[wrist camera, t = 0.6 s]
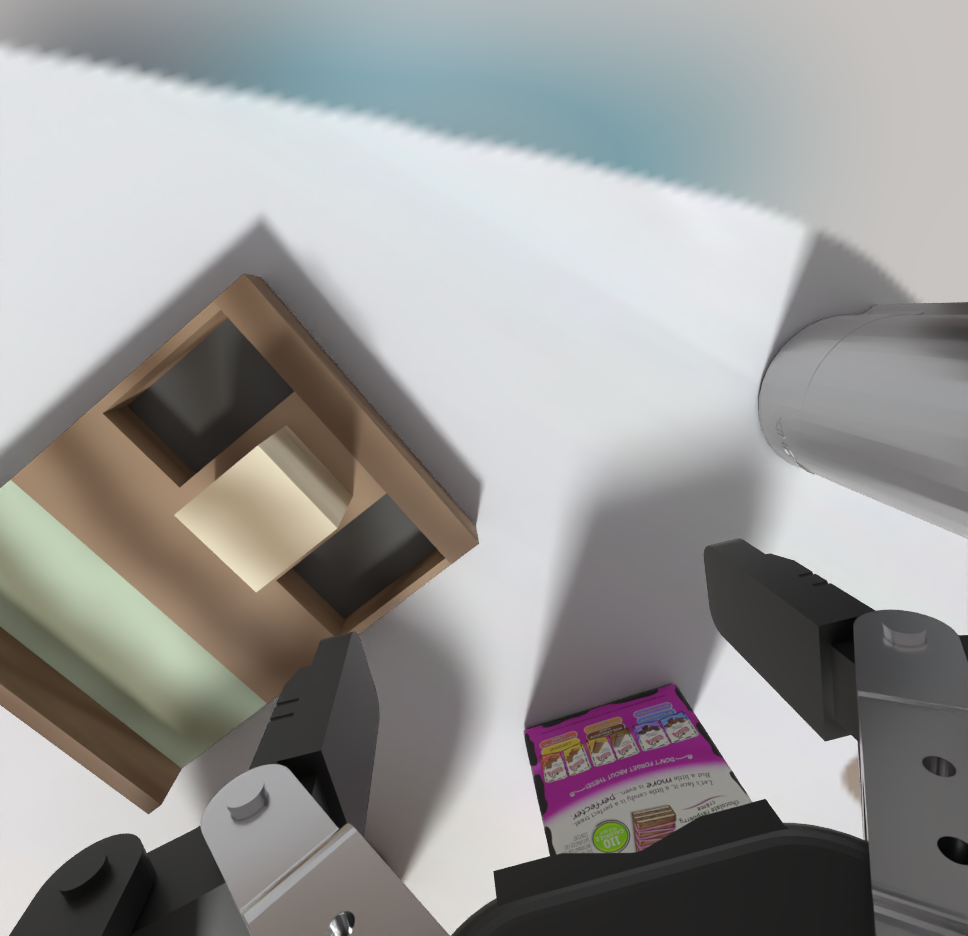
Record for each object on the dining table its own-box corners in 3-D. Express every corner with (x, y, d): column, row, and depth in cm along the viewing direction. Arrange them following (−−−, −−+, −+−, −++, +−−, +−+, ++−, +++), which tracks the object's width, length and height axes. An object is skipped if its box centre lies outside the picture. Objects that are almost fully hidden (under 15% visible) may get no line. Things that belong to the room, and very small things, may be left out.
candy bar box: (539, 782, 38) (609, 1109, 22) (521, 727, 37) (581, 1036, 21) (689, 736, 38) (865, 1032, 22) (677, 679, 37) (855, 953, 21)
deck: (260, 277, 28) (223, 269, 23) (475, 526, 32) (482, 563, 28) (-54, 552, 30) (-146, 596, 25) (188, 746, 35) (148, 814, 30)
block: (286, 424, 27) (257, 445, 23) (353, 496, 29) (337, 528, 24) (214, 484, 28) (174, 514, 24) (283, 551, 29) (256, 592, 25)
